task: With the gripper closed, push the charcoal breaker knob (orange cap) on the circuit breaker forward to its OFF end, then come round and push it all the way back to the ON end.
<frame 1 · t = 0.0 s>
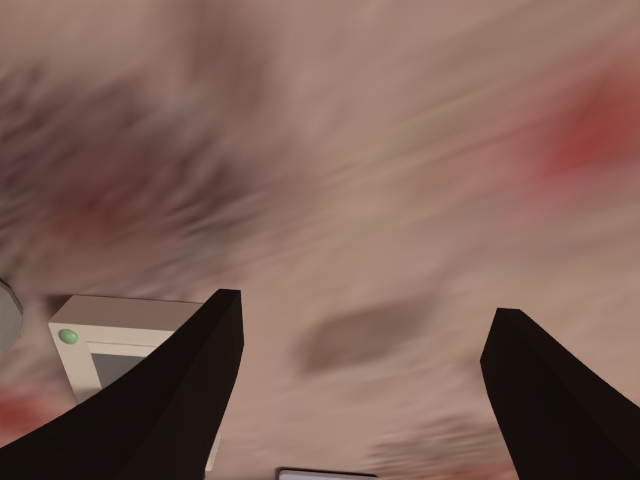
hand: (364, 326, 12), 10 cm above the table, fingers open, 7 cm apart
circuit breaker: (155, 374, 28), on the table
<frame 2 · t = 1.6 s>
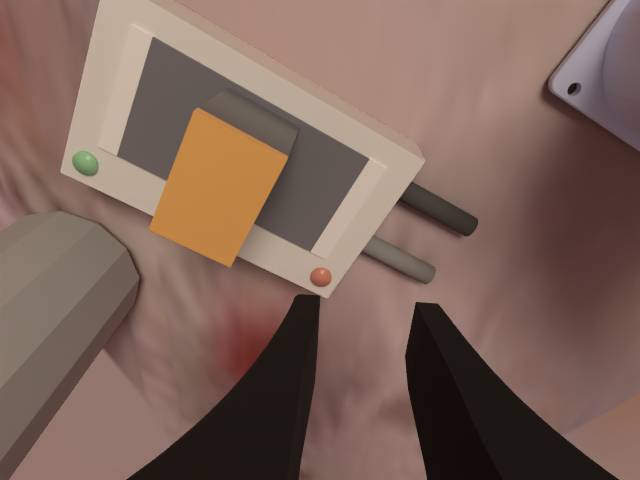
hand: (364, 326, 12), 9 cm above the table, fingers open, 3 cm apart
water bottle: (67, 251, 23), on the table
cord b: (388, 249, 21), on the table
circuit breaker: (249, 148, 19), on the table
breaker knob: (228, 175, 15), point 5 cm above the table, slide at 2.5 cm
cord a: (426, 198, 20), on the table
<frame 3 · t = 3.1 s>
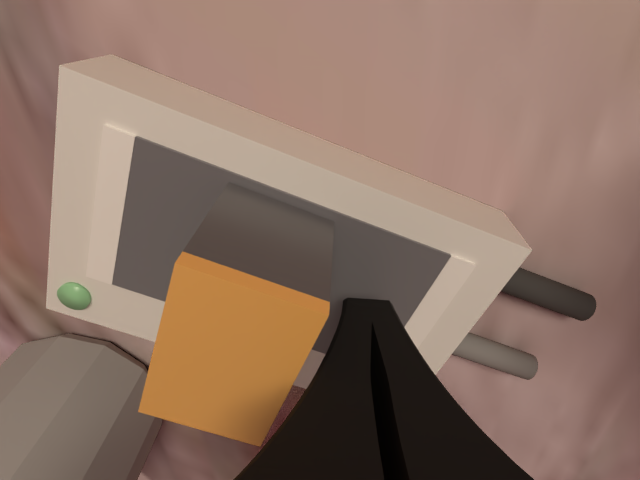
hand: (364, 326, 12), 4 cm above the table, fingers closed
water bottle: (77, 371, 19), on the table
cord b: (470, 338, 16), on the table
circuit breaker: (280, 240, 15), on the table
breaker knob: (243, 309, 10), point 5 cm above the table, slide at 3.0 cm, touching gripper
cord a: (518, 276, 15), on the table
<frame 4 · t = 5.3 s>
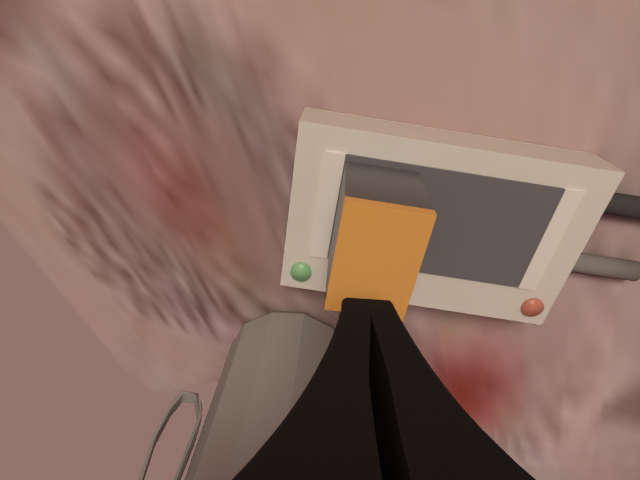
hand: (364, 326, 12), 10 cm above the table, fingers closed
water bottle: (277, 342, 26), on the table
cord b: (581, 258, 21), on the table
circuit breaker: (425, 210, 20), on the table
breaker knob: (373, 238, 16), point 5 cm above the table, slide at 5.5 cm
cord a: (613, 200, 19), on the table
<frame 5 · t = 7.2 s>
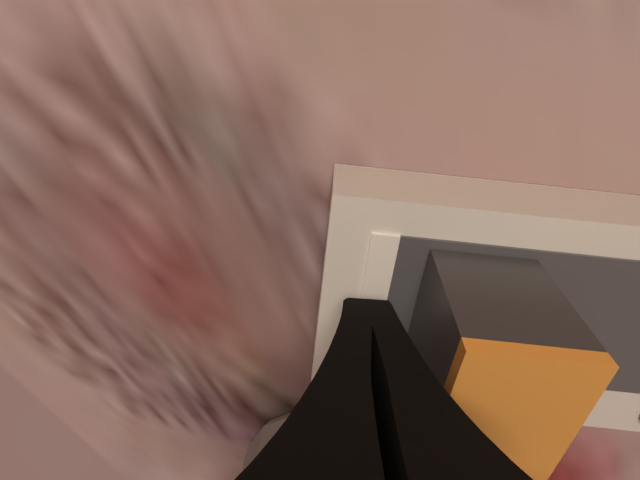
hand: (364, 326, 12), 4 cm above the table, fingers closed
water bottle: (303, 439, 20), on the table
circuit breaker: (498, 285, 15), on the table
breaker knob: (481, 365, 11), point 5 cm above the table, slide at 4.6 cm, touching gripper
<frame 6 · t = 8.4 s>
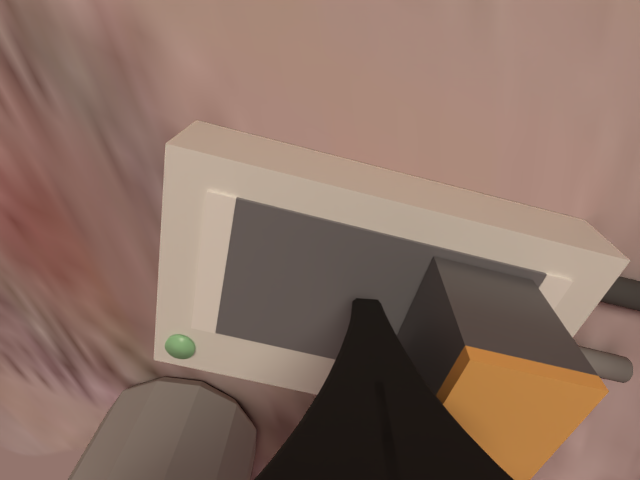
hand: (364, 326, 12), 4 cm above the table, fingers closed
water bottle: (171, 410, 20), on the table
cord b: (557, 346, 16), on the table
circuit breaker: (361, 271, 15), on the table
breaker knob: (468, 375, 11), point 5 cm above the table, slide at -0.2 cm, touching gripper
cord a: (605, 281, 15), on the table
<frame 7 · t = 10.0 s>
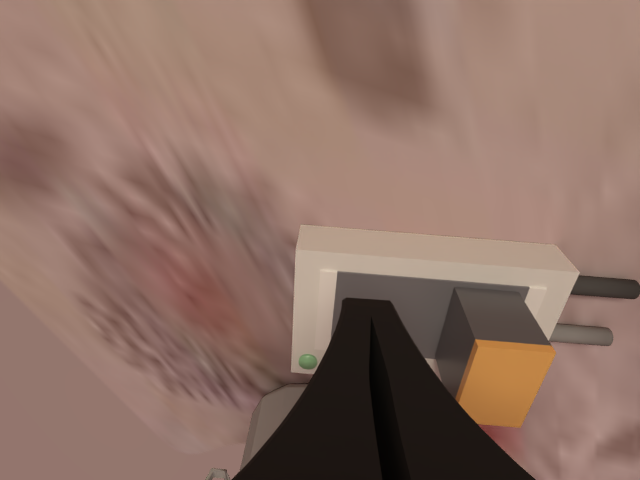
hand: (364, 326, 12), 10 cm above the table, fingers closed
water bottle: (292, 408, 28), on the table
cord b: (558, 327, 23), on the table
circuit breaker: (413, 296, 23), on the table
breaker knob: (486, 354, 19), point 5 cm above the table, slide at 0.0 cm
cord a: (579, 280, 22), on the table
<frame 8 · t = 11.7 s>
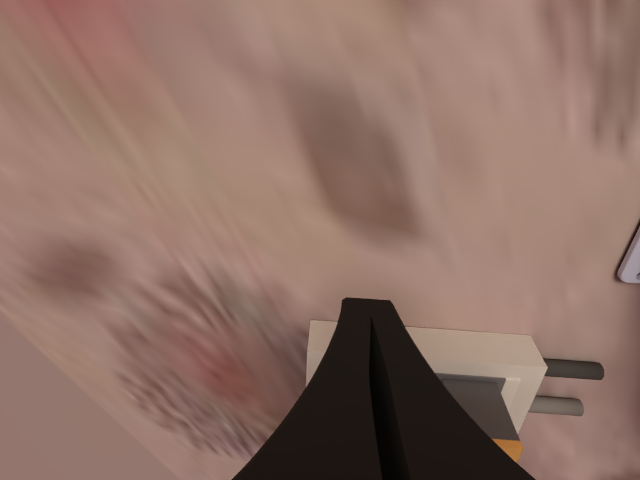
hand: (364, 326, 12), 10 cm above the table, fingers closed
cord b: (536, 398, 27), on the table
circuit breaker: (409, 374, 26), on the table
breaker knob: (469, 438, 22), point 5 cm above the table, slide at 0.0 cm
cord a: (552, 362, 25), on the table
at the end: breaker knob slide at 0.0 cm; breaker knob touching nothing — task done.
